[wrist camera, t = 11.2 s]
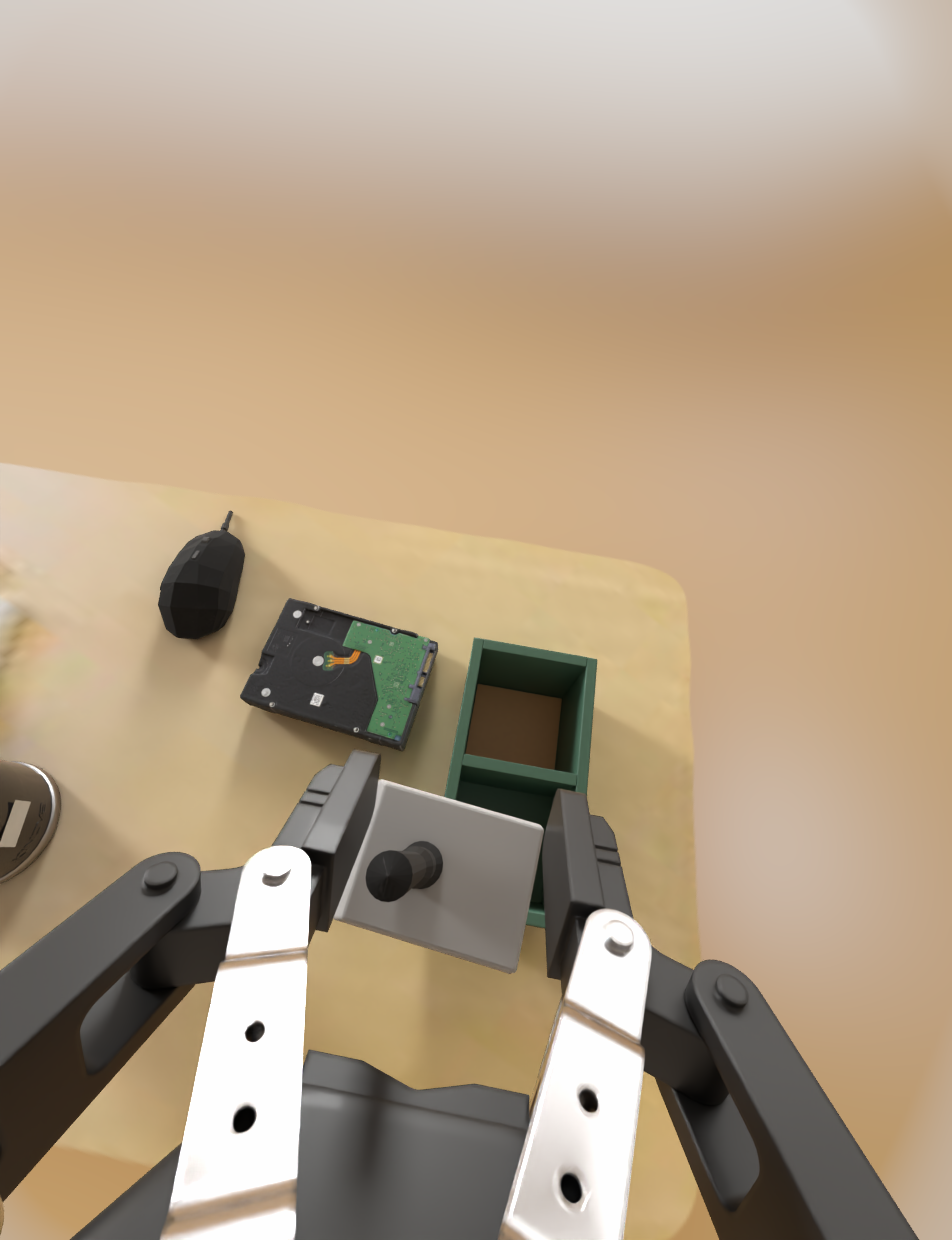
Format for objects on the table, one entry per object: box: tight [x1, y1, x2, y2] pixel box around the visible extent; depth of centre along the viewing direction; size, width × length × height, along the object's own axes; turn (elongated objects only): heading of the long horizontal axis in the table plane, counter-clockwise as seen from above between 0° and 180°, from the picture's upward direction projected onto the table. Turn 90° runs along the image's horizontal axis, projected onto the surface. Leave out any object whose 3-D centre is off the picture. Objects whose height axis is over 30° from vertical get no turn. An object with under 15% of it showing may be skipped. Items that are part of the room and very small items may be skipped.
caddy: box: [444, 638, 597, 928], centre depth 40 cm, size 10×18×10 cm, turn 170°
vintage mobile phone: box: [334, 779, 544, 974], centre depth 18 cm, size 4×5×25 cm
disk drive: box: [240, 598, 438, 751], centre depth 47 cm, size 10×3×15 cm
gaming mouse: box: [158, 511, 245, 639], centre depth 50 cm, size 6×15×4 cm, turn 177°
